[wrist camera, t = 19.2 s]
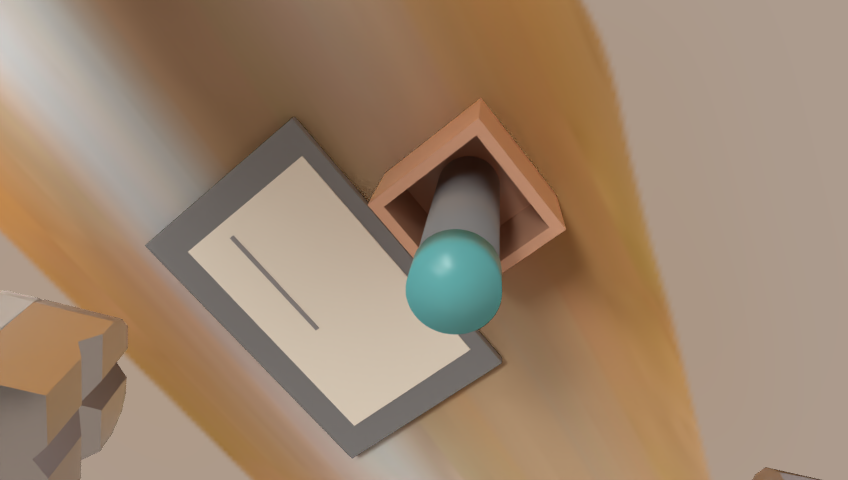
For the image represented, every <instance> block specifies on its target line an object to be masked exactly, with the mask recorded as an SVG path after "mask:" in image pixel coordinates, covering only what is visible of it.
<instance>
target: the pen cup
mask: <svg viewBox="0 0 848 480" xmlns="http://www.w3.org/2000/svg"><path fill="white" fill-rule="evenodd" d="M464 156H473V157H478V158H481V159H483V160H485V161H486V162H488V163H489V164H490V165H491V166H492V167H493V168H494V169H495V171H496V173H497V175H498V178H499V182H500V261H501V266H502V273H504V272H505V271H506V270H508V269H509V268H511V267H512V266H514V265H515V264H517V263H518V262H520V261H521V260H522V259H524V258H525V257H527V256H528V255H530V254H531V253H533V252H534V251H536V250H537V249H538V248H540V247H541V246H543V245H544V244H546V243H547V242H549V241H550V240H552V239H553V238H555V237H556V236H557V235H559V234H560V233H562V232H563V231H565V230H566V227H565V224H564V220H563V217H562V213H561V210H560V206H559V203H558V199H557V196H556V194H555V192H554V191H553V190H552V188H551V187H550V186H549V185H548V183H547V182H546V181H545V179H544V178H543V177H542V176H541V174H540V173H539V172H538V170H537V169H536V168H535V167H534V165H533V164H532V163H531V161H530V160H529V159H528V158H527V156H526V155H525V154H524V152H523V151H522V150H521V149H520V147H519V146H518V145H517V143H516V142H515V141H514V140H513V138H512V137H511V136H510V134H509V133H508V132H507V131H506V129H505V128H504V127H503V125H502V124H501V123H500V122H499V120H498V119H497V118H496V116H495V115H494V114H493V112H492V111H491V110H490V109H489V107H488V106H487V105H486V103H485V102H484V101H483V100H482V98H480V99H479V100H477V101H476V102H475V103H473V104H472V105H471V106H470V107H468V108H467V109H466V110H465V111H463V112H462V113H461V114H460V115H458V116H457V117H456V118H454V119H453V120H452V121H451V122H449V123H448V124H447V125H446V126H444V127H443V128H442V129H441V130H439V131H438V132H437V133H435V134H434V135H433V136H432V137H430V138H429V139H428V140H427V141H425V142H424V143H423V144H422V145H420V146H419V147H418V148H416V149H415V150H414V151H413V152H411V153H410V154H409V155H408V156H406V157H405V158H404V159H403V160H401V161H400V162H399V163H397V164H396V165H395V166H394V167H392V168H391V169H390V170H389V171H387V172H386V173H385V174H384V176H383V178H382V179H381V181H380V183H379V185H378V187H377V188H376V190H375V192H374V194H373V196H372V197H371V199H370V201H369V203H368V206H369V207H370V208H371V209H372V211H373V212H374V213H375V214H376V215H377V216H378V218H379V219H380V220H381V221H382V222H383V223H384V225H385V226H386V227H387V228H388V229H389V230H390V232H391V233H392V234H393V235H394V236H395V237H396V239H397V240H398V241H399V242H400V243H401V244H402V246H403V247H404V248H405V249H406V250H407V251H408V252H409V254H410V255H411V256H412V257H413V258H414V255H415V253H416V251H417V249H418V248H419V245H420V242H421V238H422V235H423V231H424V228H425V224H426V221H427V217H428V214H429V210H430V207H431V204H432V200H433V197H434V193H435V190H436V186H437V183H438V179H439V176H440V174H441V172H442V170H443V169H444V167H445V166H446V165H447V164H448V163H449V162H451V161H452V160H454V159H456V158H459V157H464Z"/></svg>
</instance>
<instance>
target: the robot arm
mask: <svg viewBox="0 0 848 480" xmlns="http://www.w3.org/2000/svg"><path fill="white" fill-rule="evenodd" d="M127 349H128V326H127V324H126V323H125V322H124V321H123V319H120V318H116V317H112V316H108V315H104V314H100V313H96V312H92V311H88V310H84V309H80V308H76V307H72V306H69V305H64V304H61V303H57V302H52V301H49V300H41V299H39V298H36V297H31V296H27V295H23V294H19V293H14V292H10V291H6V290H3V291H0V480H80V478H81V460H82V459H84V458H86V457H89V456H91V455H93V454H95V453H97V452H99V451H101V449H102V448H103V446H104V445H105V443H106V442H107V440H108V439H109V437H110V436H111V434H112V433H113V430H114V428H115V426H116V423H117V421H118V419H119V416H120V414H121V412H122V407H123V403H124V399H125V394H126V378H127V377H126V376H125V374H124V373H123V371H122V370H121V368H120V367H119V365H118V364H117V361H118V360H119V359H120V357H121V356H122V355H123V354H124V352H125V351H126V350H127ZM752 480H820V479H816V478H811V477H807V476H802V475H798V474H794V473H789V472H785V471H780V470H776V469H771V468H767V467H765V468H764V469H763V470H761V471H760V472H758V473H757V474H756V475H755V476H754V478H753V479H752Z"/></svg>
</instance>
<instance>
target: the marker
mask: <svg viewBox="0 0 848 480" xmlns="http://www.w3.org/2000/svg"><path fill="white" fill-rule="evenodd" d="M406 298H407V302H408V304H409V307H410V309H411V310H412V312H413V314H414V315H415V316H416V317H417V318H418V319H419V320H420V321H421V322H422V323H423V324H424V325H426V326H427V327H429V328H431V329H433V330H435V331H438V332H441V333H445V334H454V335H456V334H466V333H470V332H473V331H475V330H478V329H480V328H481V327H483V326H484V325H486V324H487V323H488V322H489V321H490V320H491V319H492V318H493V317H494V315H495V314H496V312H497V311H498V308H499V306H500V303H501V298H502V266H501V261H500V182H499V178H498V175H497V173H496V171H495V169H494V168H493V167H492V166H491V165H490V164H489V163H488V162H486V161H485V160H483V159H481V158H478V157H473V156H464V157H459V158H456V159H454V160H452V161H451V162H449V163H448V164H447V165H446V166H445V167H444V169H443V170H442V172H441V174H440V176H439V179H438V183H437V186H436V190H435V193H434V197H433V200H432V204H431V207H430V210H429V214H428V217H427V221H426V224H425V228H424V231H423V235H422V238H421V242H420V245H419V248H418V249H417V251H416V253H415V255H414V258H413V261H412V264H411V267H410V271H409V274H408V278H407V281H406Z"/></svg>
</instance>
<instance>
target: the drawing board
mask: <svg viewBox="0 0 848 480" xmlns="http://www.w3.org/2000/svg"><path fill="white" fill-rule="evenodd" d="M145 246H146V247H147V248H148V249H149V250H150V251H151V252H152V253H153V254H154V255H155V256H156V257H157V259H158V260H159V261H160V262H161V263H162V264H163V265H164V266H165V267H166V268H167V269H168V270H169V271H170V272H171V273H172V274H173V275H174V276H175V277H176V278H177V279H178V280H179V281H180V282H181V283H182V284H183V285H184V286H185V287H186V288H187V289H188V290H189V291H190V292H191V293H192V295H193V296H194V297H195V298H196V299H197V300H198V301H199V302H200V303H201V304H202V305H203V306H204V307H205V308H206V309H207V310H208V311H209V312H210V313H211V314H212V315H213V316H214V317H215V318H216V319H217V320H218V321H219V322H220V323H221V324H222V325H223V326H224V327H225V328H226V329H227V331H228V332H229V333H230V334H231V335H232V336H233V337H234V338H235V339H236V340H237V341H238V342H239V343H240V344H241V345H242V346H243V347H244V348H245V349H246V350H247V351H248V352H249V353H250V354H251V355H252V356H253V357H254V358H255V359H256V360H257V361H258V362H259V363H260V364H261V365H262V367H263V368H264V369H265V370H266V371H267V372H268V373H269V374H270V375H271V376H272V377H273V378H274V379H275V380H276V381H277V382H278V383H279V384H280V385H281V386H282V387H283V388H284V389H285V390H286V391H287V392H288V393H289V394H290V395H291V396H292V397H293V398H294V399H295V400H296V401H297V403H298V404H299V405H300V406H301V407H302V408H303V409H304V410H305V411H306V412H307V413H308V414H309V415H310V416H311V417H312V418H313V419H314V420H315V421H316V422H317V423H318V424H319V425H320V426H321V427H322V428H323V429H324V430H325V431H326V432H327V433H328V434H329V435H330V436H331V437H332V439H333V440H334V441H335V442H336V443H337V444H338V445H339V446H340V447H341V448H342V449H343V450H344V451H345V452H346V453H347V454H348V455H349V456H350V457H351V458H354V457H355V456H357V455H359V454H360V453H362V452H363V451H365V450H366V449H368V448H370V447H371V446H373V445H374V444H376V443H377V442H379V441H381V440H382V439H384V438H385V437H387V436H388V435H390V434H391V433H393V432H395V431H396V430H398V429H399V428H401V427H402V426H404V425H406V424H407V423H409V422H410V421H412V420H413V419H415V418H417V417H418V416H420V415H421V414H423V413H424V412H426V411H428V410H429V409H431V408H432V407H434V406H435V405H437V404H438V403H440V402H442V401H443V400H445V399H446V398H448V397H449V396H451V395H453V394H454V393H456V392H457V391H459V390H460V389H462V388H464V387H465V386H467V385H468V384H470V383H471V382H473V381H475V380H476V379H478V378H479V377H481V376H482V375H484V374H485V373H487V372H489V371H490V370H492V369H493V368H495V367H496V366H498V365H500V364H501V363H502V357H501V356H500V355H499V354H498V353H497V352H496V350H495V349H494V348H493V347H492V346H491V345H490V343H489V342H488V341H487V340H486V339H485V338H484V337H483V335H482V334H481V333H480V332H479V331H478V330H475V331H473V332H470V333H466V334H456V335H454V334H445V333H441V332H438V331H435V330H433V329H431V328H429V327H427V326H426V325H424V324H423V323H422V322H421V321H420V320H419V319H418V318H417V317H416V316H415V315H414V314H413V312H412V310H411V309H410V307H409V304H408V302H407V298H406V281H407V278H408V274H409V271H410V267H411V264H412V261H413V257H412V256H411V255H410V254H409V252H408V251H407V250H406V249H405V248H404V247H403V246H402V244H401V243H400V242H399V241H398V240H397V239H396V237H395V236H394V235H393V234H392V233H391V232H390V230H389V229H388V228H387V227H386V226H385V225H384V223H383V222H382V221H381V220H380V219H379V218H378V216H377V215H376V214H375V213H374V212H373V211H372V209H371V208H370V207H369V206H368V202H367V200H366V199H365V198H364V197H363V196H362V195H361V193H360V192H359V191H358V190H357V189H356V188H355V186H354V185H353V184H352V183H351V182H350V181H349V179H348V178H347V177H346V176H345V175H344V174H343V172H342V171H341V170H340V169H339V168H338V167H337V165H336V164H335V163H334V162H333V161H332V160H331V158H330V157H329V156H328V155H327V154H326V153H325V151H324V150H323V149H322V148H321V147H320V146H319V144H318V143H317V142H316V141H315V140H314V139H313V138H312V136H311V135H310V134H309V133H308V132H307V131H306V129H305V128H304V127H303V126H302V125H301V124H300V122H299V121H298V120H297V119H296V118H295V117H293V118H292V119H290V120H289V121H288V122H287V123H286V124H285V125H283V126H282V127H281V128H280V129H279V130H278V131H277V132H275V133H274V134H273V135H272V136H271V137H270V138H268V139H267V140H266V141H265V142H264V143H263V144H262V145H260V146H259V147H258V148H257V149H256V150H255V151H253V152H252V153H251V154H250V155H249V156H248V157H247V158H245V159H244V160H243V161H242V162H241V163H240V164H238V165H237V166H236V167H235V168H234V169H233V170H232V171H230V172H229V173H228V174H227V175H226V176H225V177H223V178H222V179H221V180H220V181H219V182H218V183H217V184H215V185H214V186H213V187H212V188H211V189H210V190H208V191H207V192H206V193H205V194H204V195H203V196H202V197H200V198H199V199H198V200H197V201H196V202H195V203H193V204H192V205H191V206H190V207H189V208H188V209H187V210H185V211H184V212H183V213H182V214H181V215H180V216H178V217H177V218H176V219H175V220H174V221H173V222H172V223H170V224H169V225H168V226H167V227H166V228H165V229H163V230H162V231H161V232H160V233H159V234H158V235H157V236H155V237H154V238H153V239H152V240H151V241H150V242H148V243H147V244H146V245H145Z"/></svg>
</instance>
